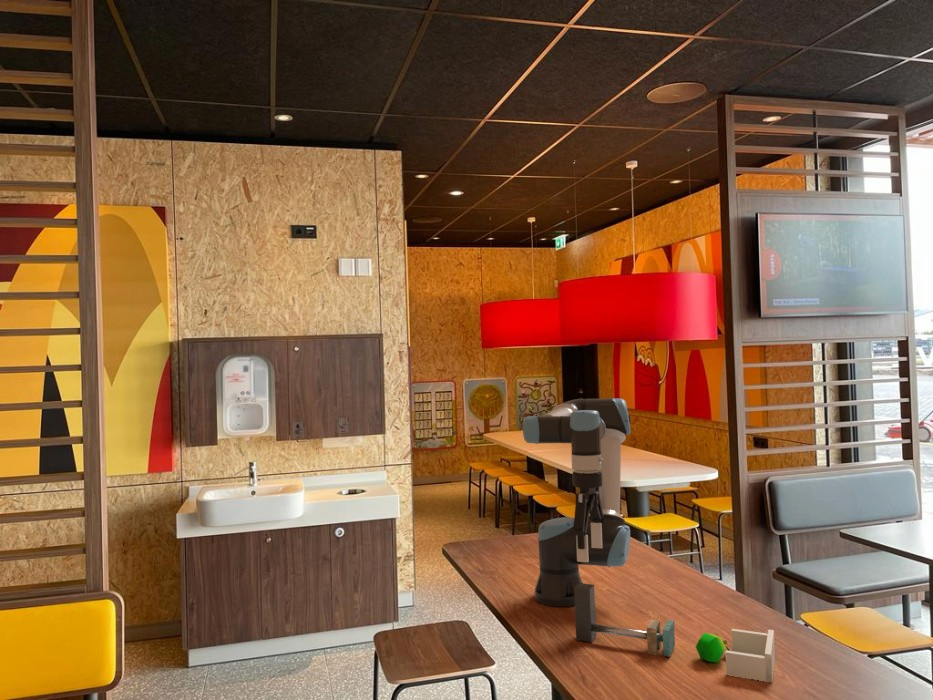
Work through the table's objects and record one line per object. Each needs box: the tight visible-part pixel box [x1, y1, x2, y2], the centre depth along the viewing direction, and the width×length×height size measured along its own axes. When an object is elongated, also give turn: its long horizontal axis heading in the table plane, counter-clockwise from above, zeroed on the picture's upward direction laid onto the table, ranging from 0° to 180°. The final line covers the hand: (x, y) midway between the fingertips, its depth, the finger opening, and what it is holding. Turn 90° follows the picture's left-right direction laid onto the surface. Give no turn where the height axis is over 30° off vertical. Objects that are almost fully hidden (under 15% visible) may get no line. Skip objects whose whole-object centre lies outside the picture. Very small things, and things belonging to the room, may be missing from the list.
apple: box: [695, 632, 731, 663], centre depth 154 cm, size 7×6×9 cm
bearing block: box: [646, 619, 662, 656], centre depth 160 cm, size 2×6×6 cm, turn 153°
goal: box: [724, 628, 776, 684], centre depth 150 cm, size 9×14×6 cm, turn 153°
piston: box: [574, 582, 676, 658], centre depth 164 cm, size 23×7×13 cm, turn 63°
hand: (590, 554), depth 169 cm, fingers open, 13 cm apart
